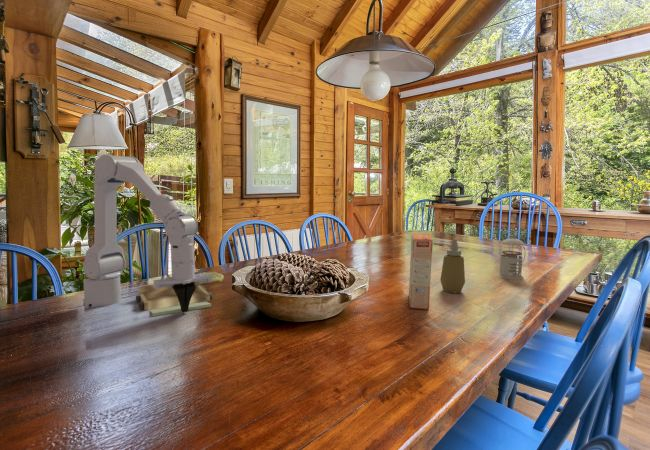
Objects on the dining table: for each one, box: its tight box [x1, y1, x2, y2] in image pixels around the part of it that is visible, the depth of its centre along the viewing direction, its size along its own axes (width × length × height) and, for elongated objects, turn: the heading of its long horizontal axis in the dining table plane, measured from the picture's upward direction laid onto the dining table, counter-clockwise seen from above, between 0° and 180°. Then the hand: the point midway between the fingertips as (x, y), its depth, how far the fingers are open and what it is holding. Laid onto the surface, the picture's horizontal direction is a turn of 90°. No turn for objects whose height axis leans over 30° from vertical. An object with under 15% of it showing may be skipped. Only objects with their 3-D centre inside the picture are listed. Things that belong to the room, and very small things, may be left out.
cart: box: [135, 283, 213, 312], centre depth 114 cm, size 20×12×6 cm, turn 122°
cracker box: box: [408, 232, 434, 310], centre depth 118 cm, size 14×6×21 cm, turn 168°
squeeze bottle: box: [439, 238, 466, 294], centre depth 131 cm, size 8×8×18 cm
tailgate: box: [149, 301, 212, 317], centre depth 107 cm, size 15×1×6 cm
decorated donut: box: [198, 271, 225, 285], centre depth 137 cm, size 10×11×4 cm
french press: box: [496, 213, 526, 280], centre depth 153 cm, size 10×12×25 cm
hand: (184, 311), depth 103 cm, fingers closed
